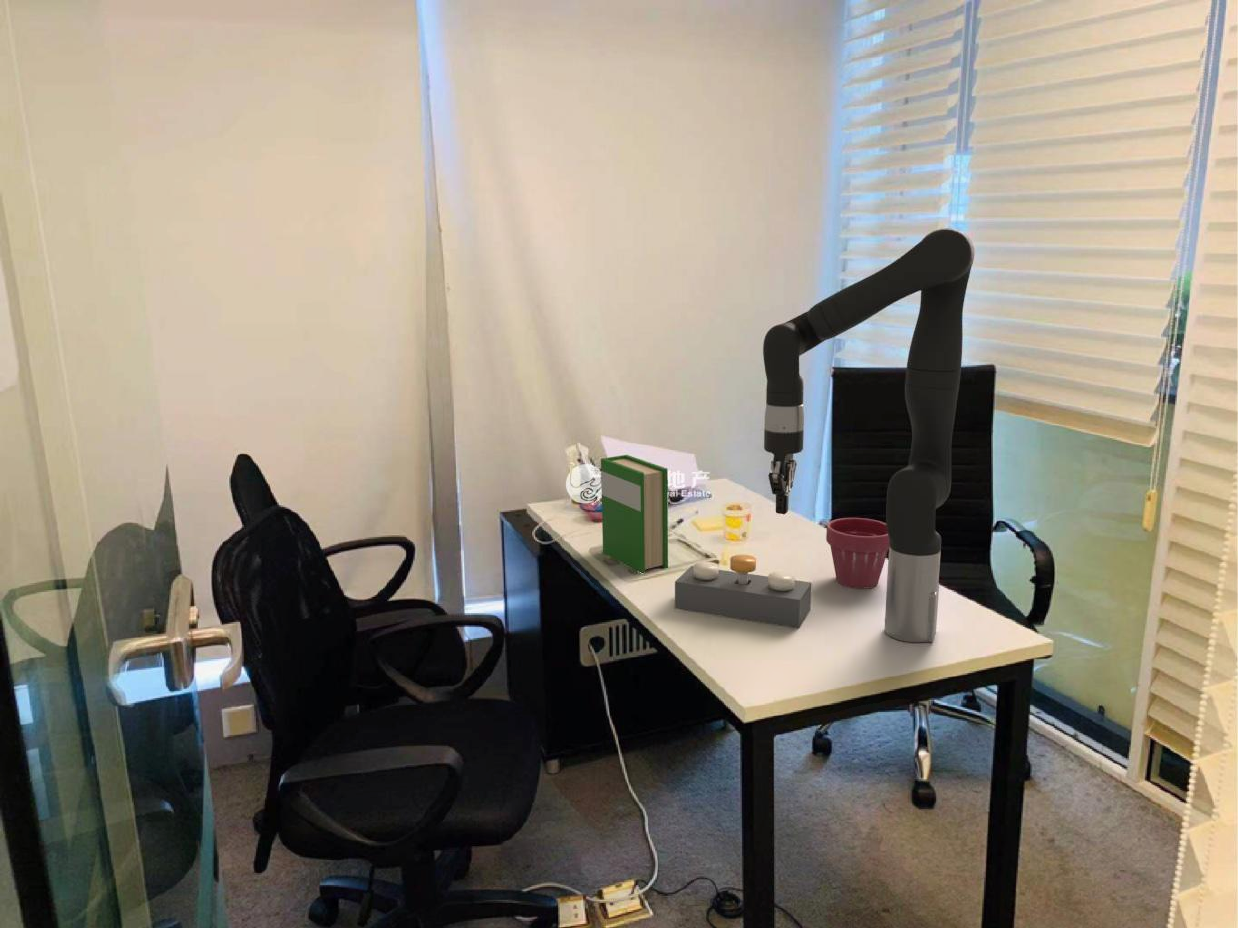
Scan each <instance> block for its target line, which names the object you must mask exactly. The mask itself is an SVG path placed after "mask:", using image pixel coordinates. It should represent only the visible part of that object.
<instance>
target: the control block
mask: <svg viewBox="0 0 1238 928" xmlns="http://www.w3.org/2000/svg"><path fill="white" fill-rule="evenodd" d="M693 566H694V565H691V566H690V567H688V568H687V570H685V572H683V573H682V574H681V576H679V577H678V578H677V579H676V580H675V581H674V609H676V610H680V611H686V612H692V613H693V612H694V613H700V614H705V615H712V616H718V617H726V618H731V619H738V620H743V621H750V622H756V623H763V624H769V625H775V626H781V627H787V628H793V629H800V628H801V626H802V624H803V623H804V621H805V620H806V618H807V617H808V615H809V613H810V611H811V608H812V607H811V604H812V601H811V600H812V582H809V581H804V580H796V579H795V580H794V588H793V589H791V590H786V591H780V590H774V589H771V588H770V587H769V586H768V575H761V574H753V573H748V585H741V584H738V572H735V571H732V570H731V571H730V570H724V569H718V577H717V578H715V579H711V580H703V579H698V578H695V577H694V576H693Z"/></svg>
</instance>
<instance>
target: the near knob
mask: <svg viewBox="0 0 1238 928" xmlns="http://www.w3.org/2000/svg"><path fill="white" fill-rule="evenodd" d="M767 576H768V586H769V587H770V588H771V589H774V590H780V591H786V590H791V589H793V588H794V580H796V577H795V575H794V574H792V573H790V572H785V571H775V572H771V573H769V574H768V575H767Z"/></svg>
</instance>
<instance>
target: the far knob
mask: <svg viewBox="0 0 1238 928" xmlns="http://www.w3.org/2000/svg"><path fill="white" fill-rule="evenodd" d="M692 566H693V576H694V577H695V578H698V579H703V580H711V579H715V578H717V577H718V570H719V565H718V564H717V563H714V562H712V561H699V562H696V563H694V564H693V565H692Z"/></svg>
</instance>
